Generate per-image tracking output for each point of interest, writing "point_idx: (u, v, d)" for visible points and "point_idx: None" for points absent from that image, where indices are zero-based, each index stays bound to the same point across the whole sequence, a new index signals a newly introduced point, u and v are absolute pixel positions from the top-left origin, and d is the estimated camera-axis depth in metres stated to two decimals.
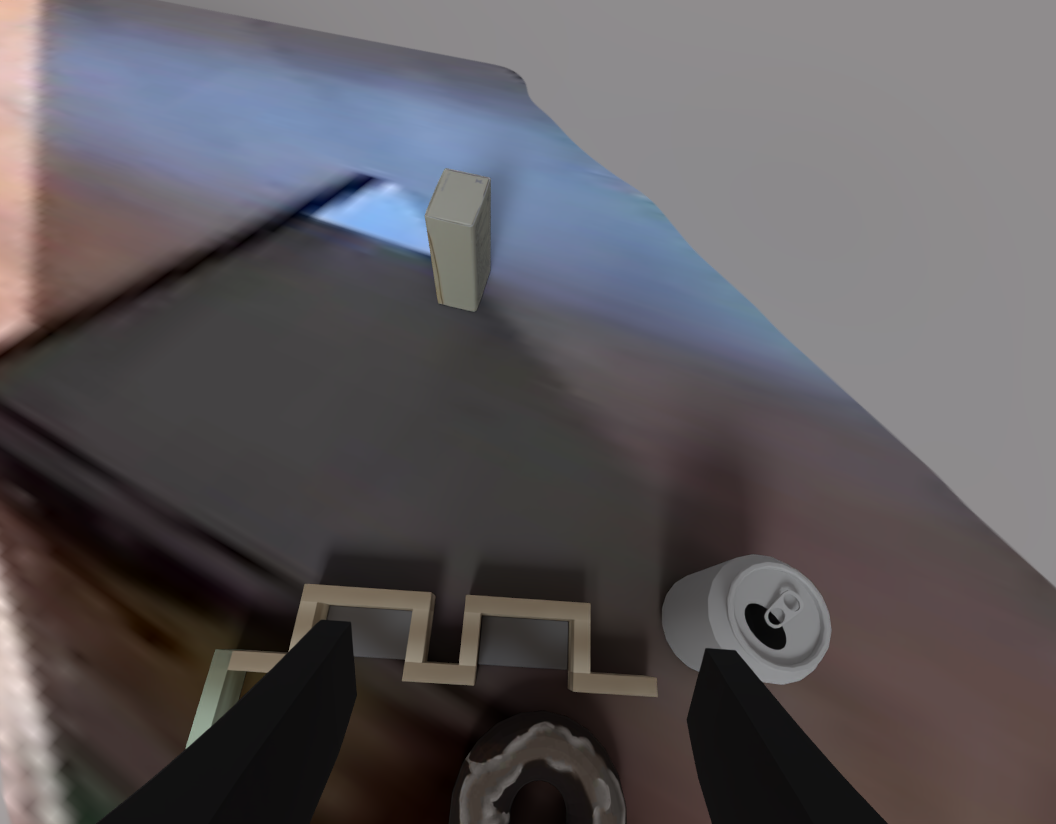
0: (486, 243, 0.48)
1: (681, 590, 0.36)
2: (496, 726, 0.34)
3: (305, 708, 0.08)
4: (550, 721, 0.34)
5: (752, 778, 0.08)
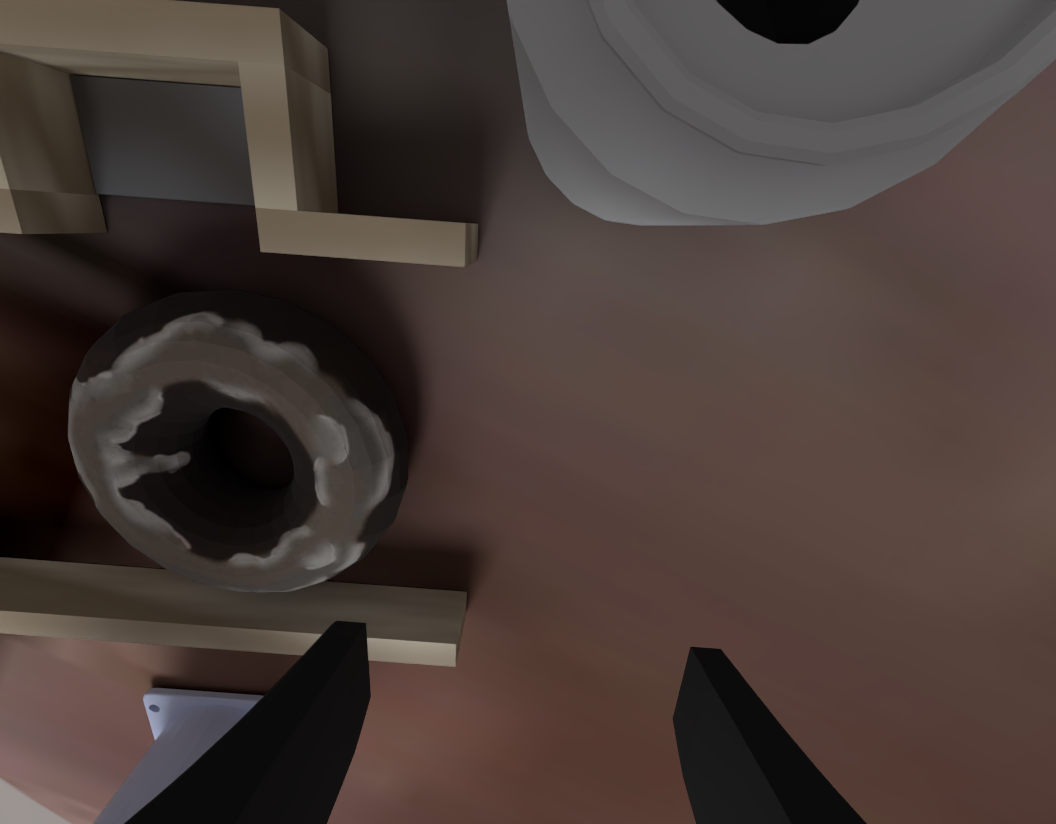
0: None
1: None
2: (123, 317, 0.16)
3: (323, 709, 0.08)
4: (219, 312, 0.15)
5: (733, 777, 0.08)
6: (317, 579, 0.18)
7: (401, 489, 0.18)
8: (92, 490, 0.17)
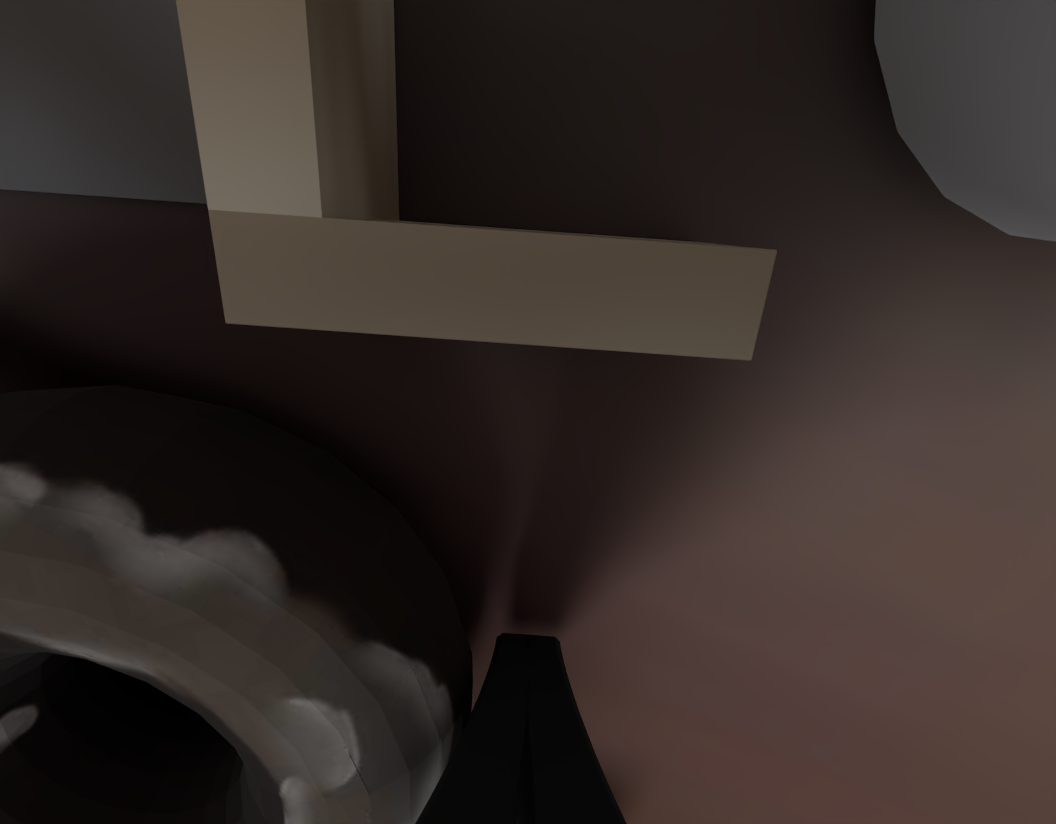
0: None
1: None
2: None
3: (525, 724, 0.08)
4: (38, 463, 0.06)
5: (526, 761, 0.08)
6: None
7: None
8: None
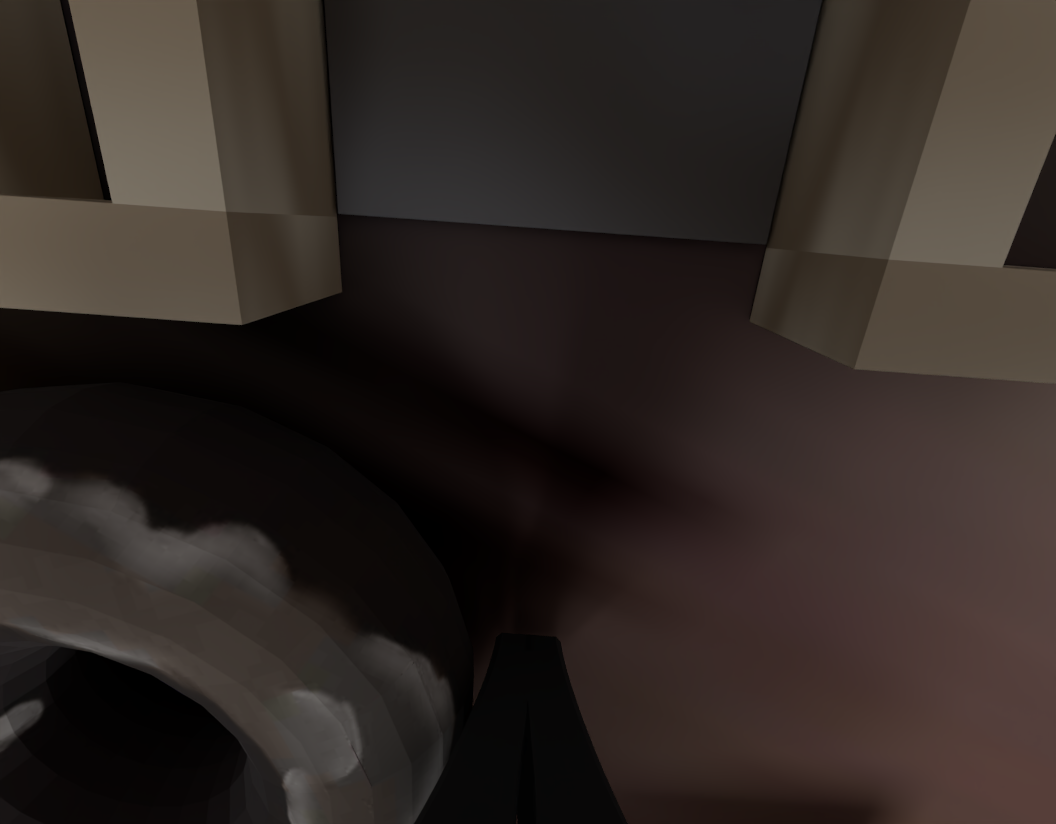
0: None
1: None
2: None
3: (524, 723, 0.08)
4: (42, 458, 0.06)
5: (527, 761, 0.08)
6: None
7: None
8: None
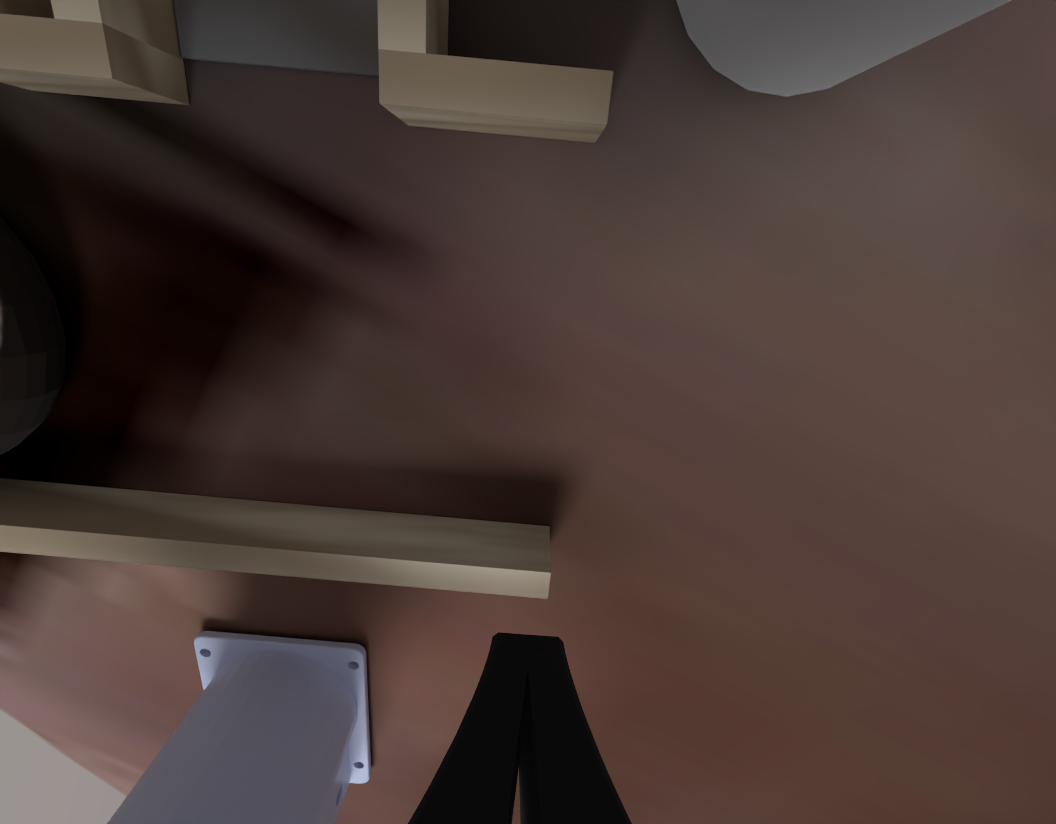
0: None
1: None
2: None
3: (521, 724, 0.08)
4: None
5: (530, 762, 0.08)
6: None
7: (31, 353, 0.16)
8: None
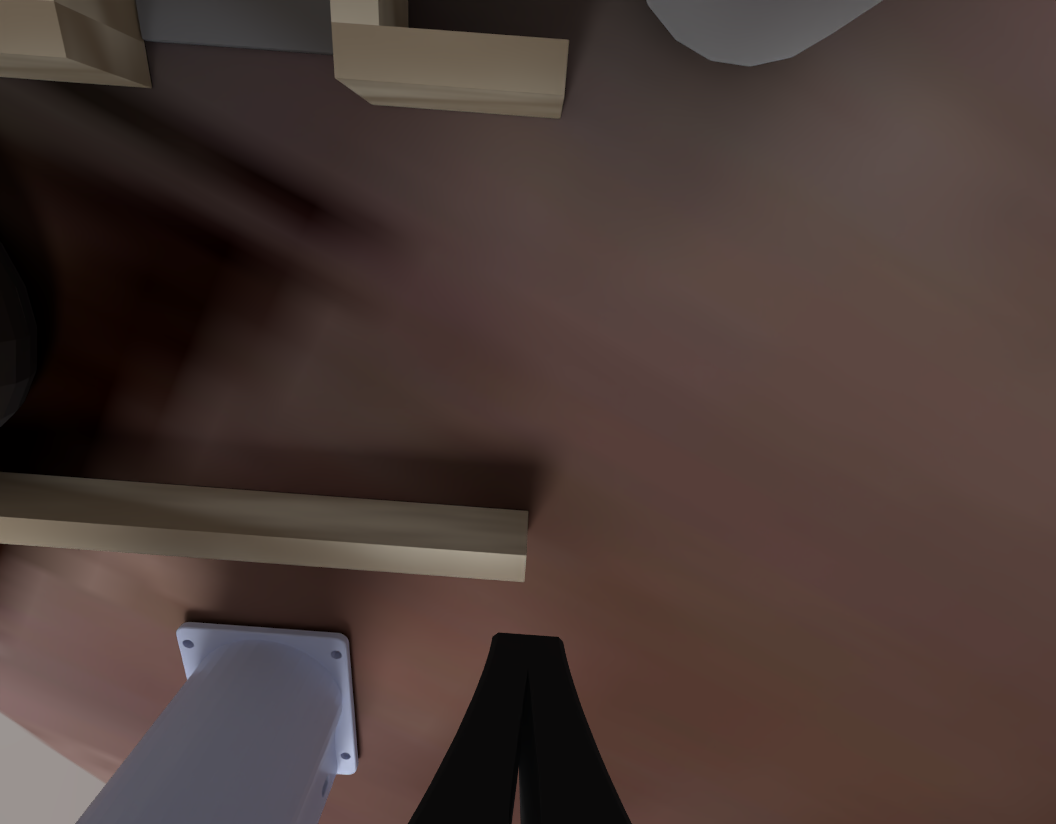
0: None
1: None
2: None
3: (520, 724, 0.08)
4: None
5: (530, 762, 0.08)
6: None
7: (0, 341, 0.16)
8: None
